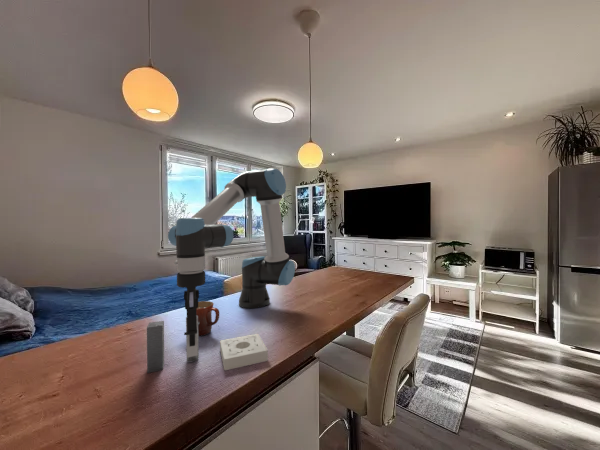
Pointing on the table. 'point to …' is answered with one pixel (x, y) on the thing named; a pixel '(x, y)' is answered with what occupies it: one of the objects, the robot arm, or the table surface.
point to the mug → (206, 317)
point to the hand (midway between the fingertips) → (192, 352)
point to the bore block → (243, 351)
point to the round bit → (198, 345)
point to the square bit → (155, 346)
